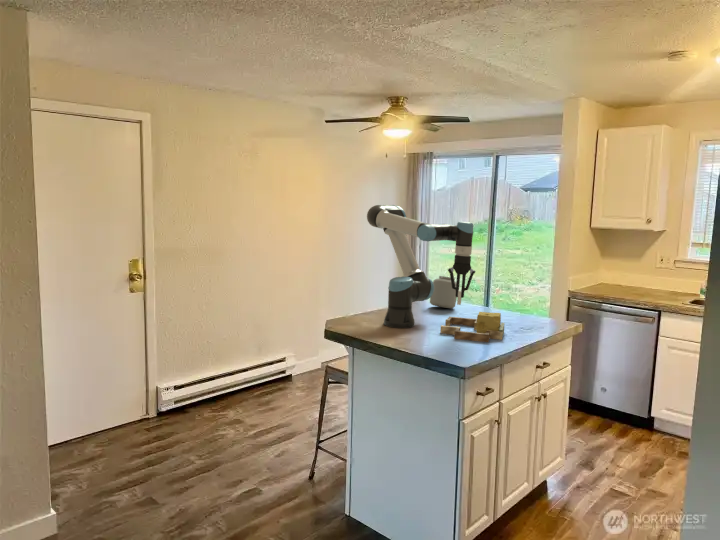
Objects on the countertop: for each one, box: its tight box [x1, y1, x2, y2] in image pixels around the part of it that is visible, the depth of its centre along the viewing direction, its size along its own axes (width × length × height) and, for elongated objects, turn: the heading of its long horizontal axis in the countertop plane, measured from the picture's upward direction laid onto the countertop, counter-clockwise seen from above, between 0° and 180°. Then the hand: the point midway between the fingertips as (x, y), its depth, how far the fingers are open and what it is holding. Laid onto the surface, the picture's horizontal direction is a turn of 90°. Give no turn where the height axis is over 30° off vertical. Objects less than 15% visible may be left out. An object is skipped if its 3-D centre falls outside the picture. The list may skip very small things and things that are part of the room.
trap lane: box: [440, 316, 505, 343], centre depth 253 cm, size 28×31×4 cm
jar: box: [429, 269, 458, 309], centre depth 310 cm, size 19×15×25 cm
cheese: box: [475, 311, 502, 334], centre depth 250 cm, size 10×11×10 cm
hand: (459, 304), depth 254 cm, fingers closed
